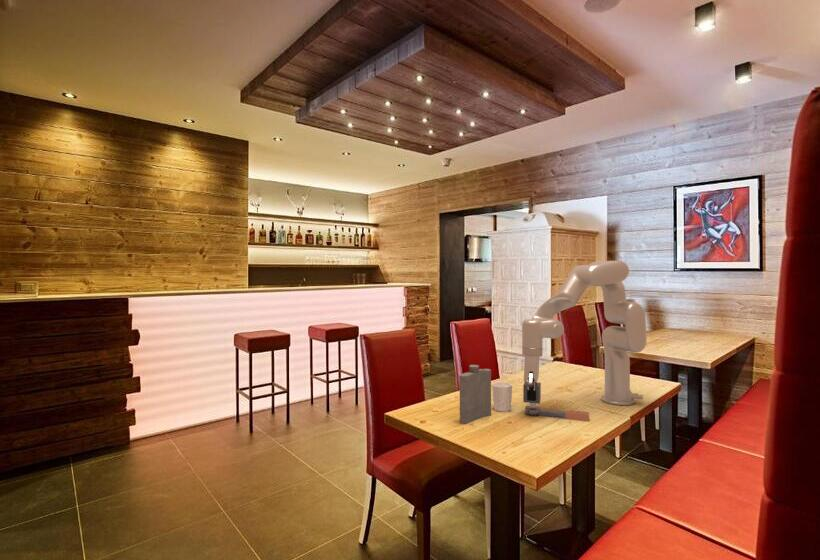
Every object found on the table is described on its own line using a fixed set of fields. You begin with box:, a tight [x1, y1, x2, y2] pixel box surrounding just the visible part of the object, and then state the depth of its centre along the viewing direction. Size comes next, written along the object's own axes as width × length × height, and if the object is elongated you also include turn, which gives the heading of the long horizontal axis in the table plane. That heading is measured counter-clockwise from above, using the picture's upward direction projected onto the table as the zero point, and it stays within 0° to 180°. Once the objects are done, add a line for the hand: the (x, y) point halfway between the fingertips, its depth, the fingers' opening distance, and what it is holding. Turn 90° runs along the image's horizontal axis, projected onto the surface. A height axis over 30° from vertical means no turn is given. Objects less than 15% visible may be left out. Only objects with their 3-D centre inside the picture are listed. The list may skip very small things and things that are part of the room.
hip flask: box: [458, 364, 492, 425], centre depth 157 cm, size 16×4×20 cm, turn 129°
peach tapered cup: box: [491, 381, 513, 412], centre depth 168 cm, size 8×8×10 cm
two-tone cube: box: [522, 381, 542, 405], centre depth 161 cm, size 6×6×6 cm
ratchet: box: [524, 403, 590, 422], centre depth 158 cm, size 23×6×6 cm, turn 69°
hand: (532, 397), depth 161 cm, fingers closed on two-tone cube, 6 cm apart
